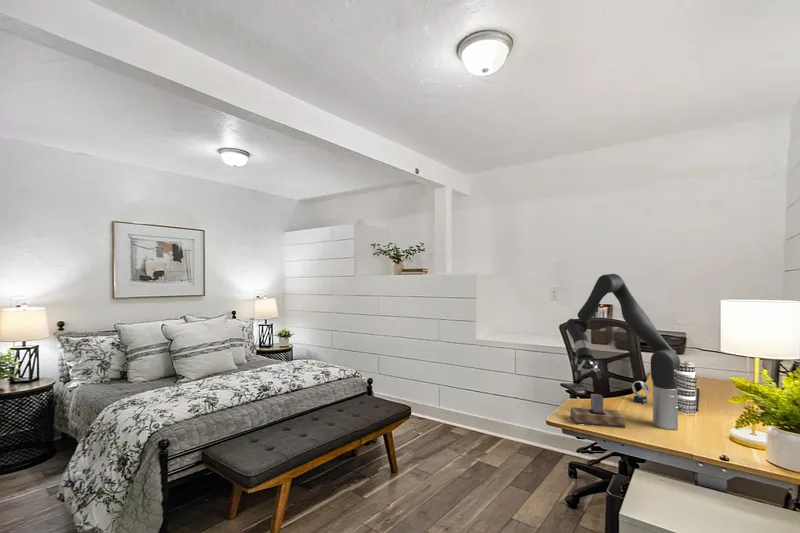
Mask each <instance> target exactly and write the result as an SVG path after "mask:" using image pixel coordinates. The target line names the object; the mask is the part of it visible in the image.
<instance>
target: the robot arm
mask: <svg viewBox="0 0 800 533" xmlns="http://www.w3.org/2000/svg"><path fill="white" fill-rule="evenodd" d="M609 293H612V294H613V295H614V296H615V298H616V299H617V301H618V303H619V304H620V309H621V314H622V315H621V316H622V318H623V321H624V322H625V323H626V324H627V326H628V327H629V329H630V331H631V332H633V333H634V334H635V335H636V336H637V337H638V338H639V339H640V340H642V341H643V342H644V343H645V344H646V345H647V346H648V347H649V349H650V350H651V352H652V353H653V354H652V355H651V356H650V378H651V380H652V425H654V426H655V427H658V428H661V429H666V430H677V431H678V430H679V413H678V384H677V382H676V381H675V377H674V375H675V374H674V372H675V371H676V369H677V368H678V367H679V365H680V361H681V359H680V357H679V355H678V354H677V352H676V351H675V350H674V349H673V348H672V346H670V345H669V344H668V343H667V342H666V340H665V339H664V338H663V336H662V335H661V334H660V332H659V330H658V329H657V328H656V327H655V325H654V324H653V322H652V320H650V317H649V316H648V315H647V313H645V311H644V310H643V309H642V307H641V306H640V305H639V303H638V302H637V300H636V299H635V298H634V296H633V295H632V294H631V291H630V290H629V288H628V287H627V284H626V283H625V281H624V280H623V278H622V277H621V276H620V275H619V274H616V273H608V274H602V275H601V276H599V277H598V279H597V280H596V282H595V284H594V286H593V288H592V291H591V292H590V294H589V296H588V298H587V300H586V301H585V303H584V304H583V306H582V307H581V308H580V310H579V311H578V312H577V315H576V316H577V318H578V319H575V318H569V319H568V320H567V321H566V330H567V332H568V333H569V336H570V337H571V338H572V340H573V346H574V352H575V355H576V356H575V357H576V359H574V358H572V359H571V362H570V363H571V370H572V372H573V373H575V372H576V376H577V377H578V379H579V380H582V379H583V374H582V369H584V370H592V371H593V372H595V373H596V377H597V380H598V381H601V379H602V377H603V376H602V373H604V370H605V367H604V366H603V363H602V360H601V359H598V360H595V359H594V354H593V352H592V349H591V346H590V344H589V343H590V342H589V340H588V336H587V335H586V332H587V331H588V328H589V326H590V323H591V320H592V319H593V318H594V316H595V315H596V314H597V312H598V310H599V306H600V303H601V301H602V300H603V298H605V296H607V295H608V294H609ZM576 364H577V365H578V367H576Z"/></svg>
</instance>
